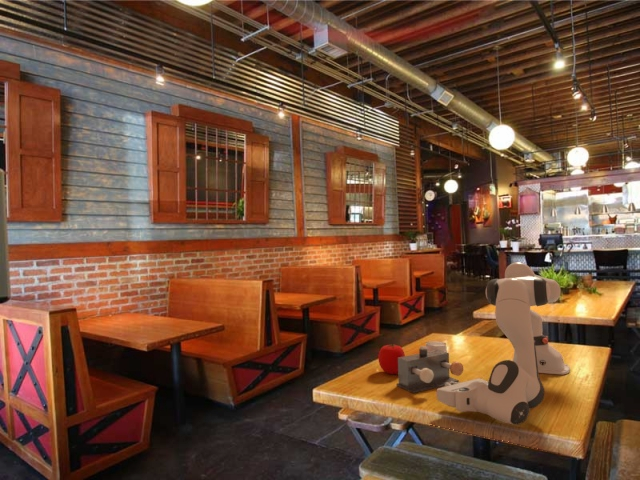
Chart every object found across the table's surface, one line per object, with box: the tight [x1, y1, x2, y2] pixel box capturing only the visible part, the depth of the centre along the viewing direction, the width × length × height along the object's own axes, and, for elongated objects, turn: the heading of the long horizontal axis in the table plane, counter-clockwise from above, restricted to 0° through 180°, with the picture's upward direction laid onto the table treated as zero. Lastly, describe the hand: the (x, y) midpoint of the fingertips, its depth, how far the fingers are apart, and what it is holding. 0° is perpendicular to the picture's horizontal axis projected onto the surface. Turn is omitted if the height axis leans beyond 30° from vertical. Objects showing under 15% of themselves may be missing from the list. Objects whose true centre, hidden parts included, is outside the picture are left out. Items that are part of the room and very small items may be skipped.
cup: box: [425, 340, 448, 353], centre depth 188 cm, size 9×9×12 cm
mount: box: [396, 350, 460, 394], centre depth 173 cm, size 10×23×11 cm, turn 117°
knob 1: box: [411, 367, 434, 383], centre depth 165 cm, size 9×5×5 cm, turn 27°
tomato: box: [377, 343, 406, 375], centre depth 188 cm, size 12×12×13 cm
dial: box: [418, 345, 428, 356], centre depth 174 cm, size 3×3×4 cm
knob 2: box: [441, 361, 464, 377], centre depth 172 cm, size 9×5×5 cm, turn 27°
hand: (448, 384), depth 152 cm, fingers closed
